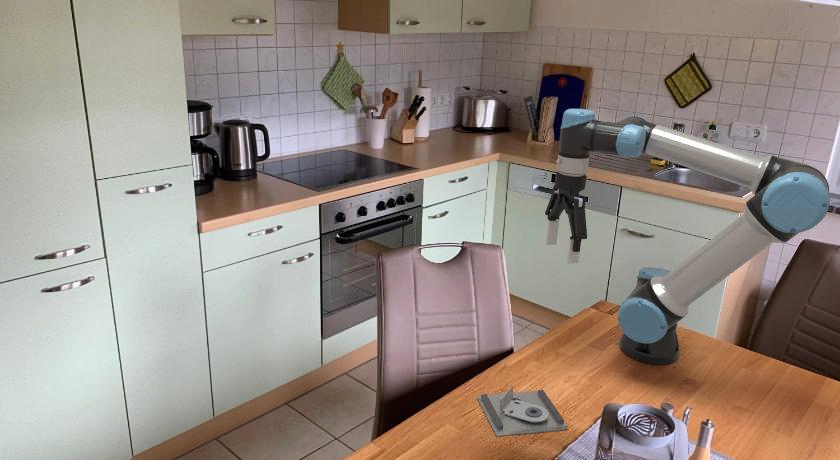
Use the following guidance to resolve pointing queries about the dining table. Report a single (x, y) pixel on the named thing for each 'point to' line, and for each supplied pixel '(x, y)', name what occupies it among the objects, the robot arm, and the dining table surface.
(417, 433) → the dining table surface
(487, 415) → the mount plate
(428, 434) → the dining table surface
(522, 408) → the bracket
